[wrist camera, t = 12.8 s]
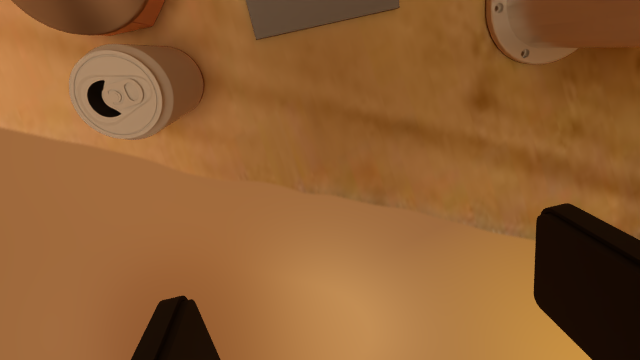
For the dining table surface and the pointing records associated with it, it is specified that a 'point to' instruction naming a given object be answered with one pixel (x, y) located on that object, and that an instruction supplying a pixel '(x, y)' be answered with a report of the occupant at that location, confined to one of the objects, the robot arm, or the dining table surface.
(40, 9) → the lid
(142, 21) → the bowl
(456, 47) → the dining table surface
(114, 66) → the beverage can
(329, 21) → the mat
